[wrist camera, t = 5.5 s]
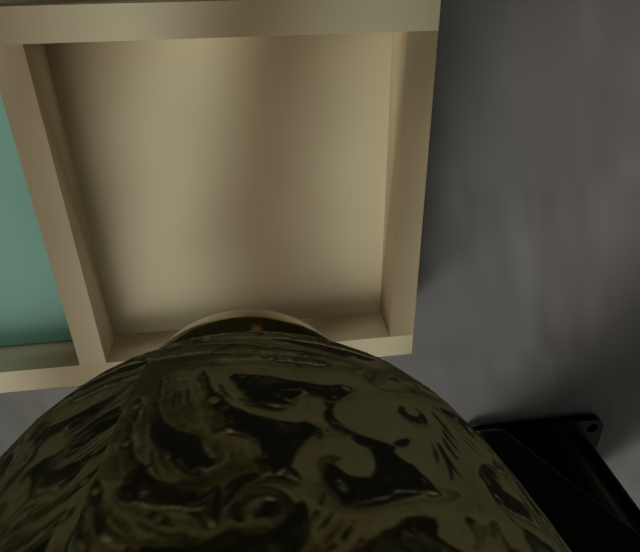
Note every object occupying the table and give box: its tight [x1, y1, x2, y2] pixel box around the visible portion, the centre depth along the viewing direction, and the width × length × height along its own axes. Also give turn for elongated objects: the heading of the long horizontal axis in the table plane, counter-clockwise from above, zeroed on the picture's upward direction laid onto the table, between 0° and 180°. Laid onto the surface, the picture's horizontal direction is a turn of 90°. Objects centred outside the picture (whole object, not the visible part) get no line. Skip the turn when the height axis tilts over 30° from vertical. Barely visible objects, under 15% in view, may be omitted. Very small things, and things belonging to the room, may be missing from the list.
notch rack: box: [0, 0, 441, 393], centre depth 16 cm, size 21×11×2 cm, turn 91°
